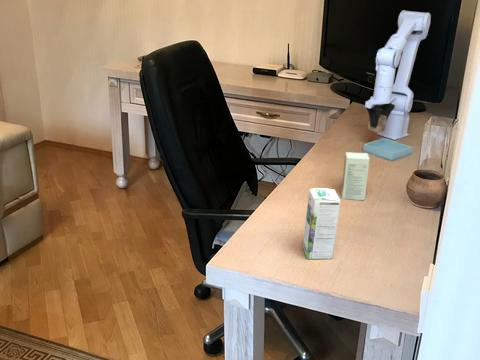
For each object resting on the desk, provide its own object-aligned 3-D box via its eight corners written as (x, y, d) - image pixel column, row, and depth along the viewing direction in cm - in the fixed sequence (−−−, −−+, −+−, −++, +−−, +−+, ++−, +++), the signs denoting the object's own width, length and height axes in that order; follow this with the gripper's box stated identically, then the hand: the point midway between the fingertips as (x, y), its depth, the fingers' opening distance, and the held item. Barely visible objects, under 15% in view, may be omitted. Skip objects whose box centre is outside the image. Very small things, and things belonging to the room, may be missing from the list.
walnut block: (374, 127, 181) (376, 113, 179) (384, 130, 178) (386, 116, 176) (367, 129, 178) (369, 115, 176) (377, 132, 176) (379, 118, 174)
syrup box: (301, 246, 119) (307, 187, 113) (327, 245, 120) (334, 187, 114) (306, 259, 114) (313, 199, 108) (333, 259, 114) (341, 199, 109)
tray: (383, 144, 186) (384, 137, 185) (411, 154, 178) (413, 147, 177) (362, 151, 178) (363, 144, 177) (391, 161, 171) (393, 154, 170)
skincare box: (363, 194, 146) (369, 153, 141) (364, 200, 142) (371, 158, 137) (339, 192, 147) (345, 151, 142) (340, 199, 143) (346, 156, 138)
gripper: (386, 80, 179) (380, 119, 184) (360, 85, 170) (354, 126, 176) (404, 85, 174) (398, 124, 180) (377, 90, 165) (371, 131, 171)
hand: (377, 125), depth 177 cm, fingers closed on walnut block, 4 cm apart
